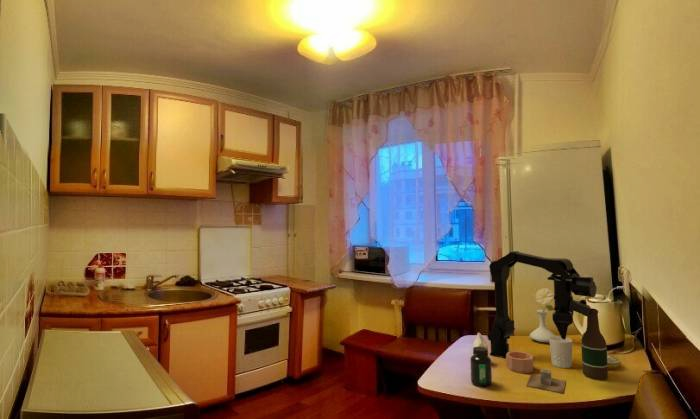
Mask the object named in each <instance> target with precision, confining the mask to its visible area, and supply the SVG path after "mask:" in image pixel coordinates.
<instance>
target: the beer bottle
mask: <svg viewBox="0 0 700 419" xmlns="http://www.w3.org/2000/svg"><path fill="white" fill-rule="evenodd" d="M598 314H600V312H599V310H598V309H597V308H592V307H591V309H590V311H589V314H588V316H586V330H585V332H584V333H583V334H582V337H581V342H580V343H581V345H580V347H581V368H582V374H583V375H584V376H585V377H586V378H588V379H590V380H594V381H605V380H607V379H608V378H609V370H608V365H607V354H608V346H607V341H606V339H605V337H604V335H603V334H602V333H601V329H600V323H599V315H598Z"/></svg>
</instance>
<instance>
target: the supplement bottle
mask: <svg viewBox="0 0 700 419" xmlns="http://www.w3.org/2000/svg"><path fill="white" fill-rule="evenodd" d="M472 354H473V355H472V356H471V357H470V378H471V379H470V381H471V383H472V385H473V386H475V387H478V388H490V387H491V386H492V383H493V379H492V378H493V377H492V375H493V374H492V359H491V358H490V357H489V348H488V349H487V348H484V347H474V348H472Z"/></svg>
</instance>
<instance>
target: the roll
mask: <svg viewBox="0 0 700 419" xmlns="http://www.w3.org/2000/svg"><path fill="white" fill-rule="evenodd" d="M475 338H476V339H475V340H474V341H473V345H472V347H473V348H474V347H484V348H487V349H488V350H489V346H488V342H487V340H485V338H484V337H483V335H482V334H481V333H480V332H477V334H476V337H475ZM473 348H472V349H473Z"/></svg>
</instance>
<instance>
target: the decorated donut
mask: <svg viewBox="0 0 700 419" xmlns="http://www.w3.org/2000/svg"><path fill="white" fill-rule="evenodd" d="M607 365H608V369H609V370H611V371H612V370H618V369H619V368H620V367H621V365H622V361H621V360H620V359H619V357H616V356H614V355H611V354H608V353H607ZM609 370H608V371H609Z"/></svg>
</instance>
